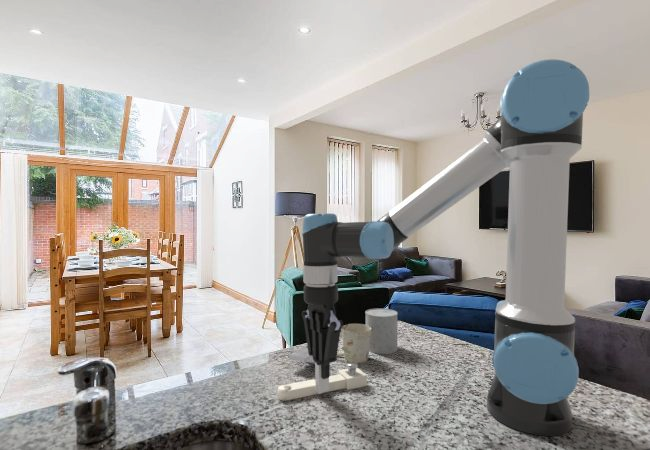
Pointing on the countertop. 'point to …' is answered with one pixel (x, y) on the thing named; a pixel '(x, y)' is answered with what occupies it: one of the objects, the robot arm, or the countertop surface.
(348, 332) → the mug
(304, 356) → the keeper
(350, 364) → the pintle
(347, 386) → the link
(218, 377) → the countertop surface
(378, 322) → the gray cylinder
